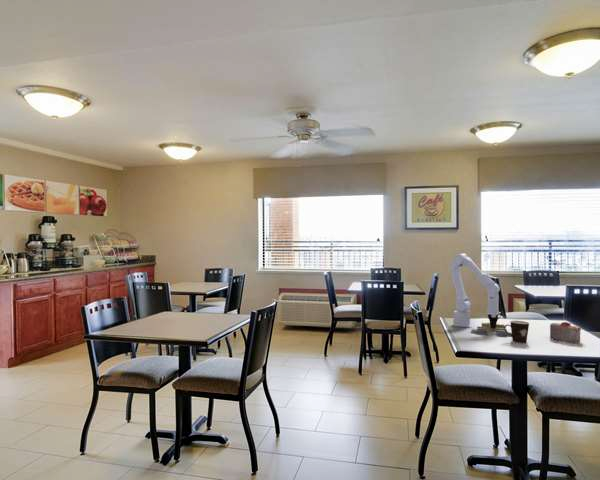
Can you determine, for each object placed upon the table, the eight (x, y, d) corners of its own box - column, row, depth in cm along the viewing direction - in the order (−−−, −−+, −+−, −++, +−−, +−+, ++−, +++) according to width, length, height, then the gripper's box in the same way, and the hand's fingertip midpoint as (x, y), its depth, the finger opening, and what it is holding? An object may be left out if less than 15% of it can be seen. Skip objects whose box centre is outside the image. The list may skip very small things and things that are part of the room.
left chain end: (471, 333, 226) (471, 327, 226) (471, 330, 232) (471, 325, 232) (487, 334, 223) (487, 329, 223) (486, 332, 229) (486, 327, 229)
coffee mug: (528, 340, 211) (528, 321, 211) (529, 344, 203) (529, 324, 203) (503, 338, 216) (503, 319, 216) (504, 341, 208) (504, 322, 208)
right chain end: (497, 335, 221) (497, 330, 221) (496, 333, 227) (496, 327, 227) (513, 337, 218) (513, 331, 218) (512, 334, 224) (512, 329, 224)
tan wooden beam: (481, 329, 236) (481, 323, 236) (481, 329, 238) (481, 322, 238) (504, 331, 231) (504, 325, 231) (504, 331, 233) (504, 324, 233)
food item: (582, 342, 209) (583, 323, 209) (578, 344, 204) (578, 325, 204) (553, 337, 219) (553, 319, 219) (548, 339, 214) (548, 321, 214)
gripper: (501, 306, 226) (501, 330, 226) (499, 303, 240) (499, 325, 240) (487, 305, 229) (487, 329, 229) (486, 302, 242) (486, 324, 243)
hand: (492, 327), depth 235 cm, fingers open, 5 cm apart
